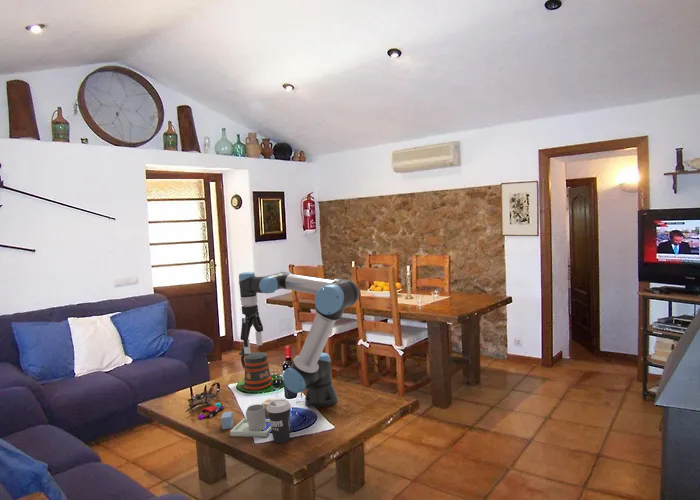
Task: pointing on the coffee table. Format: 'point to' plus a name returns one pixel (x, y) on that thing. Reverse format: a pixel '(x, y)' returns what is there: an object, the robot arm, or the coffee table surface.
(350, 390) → the coffee table surface
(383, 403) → the coffee table surface
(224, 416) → the blue painted block
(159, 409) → the coffee table surface
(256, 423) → the cup
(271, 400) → the beech block
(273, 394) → the coffee table surface
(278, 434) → the coffee cup
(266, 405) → the walnut block
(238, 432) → the tray
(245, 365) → the beer stein
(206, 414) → the toy
